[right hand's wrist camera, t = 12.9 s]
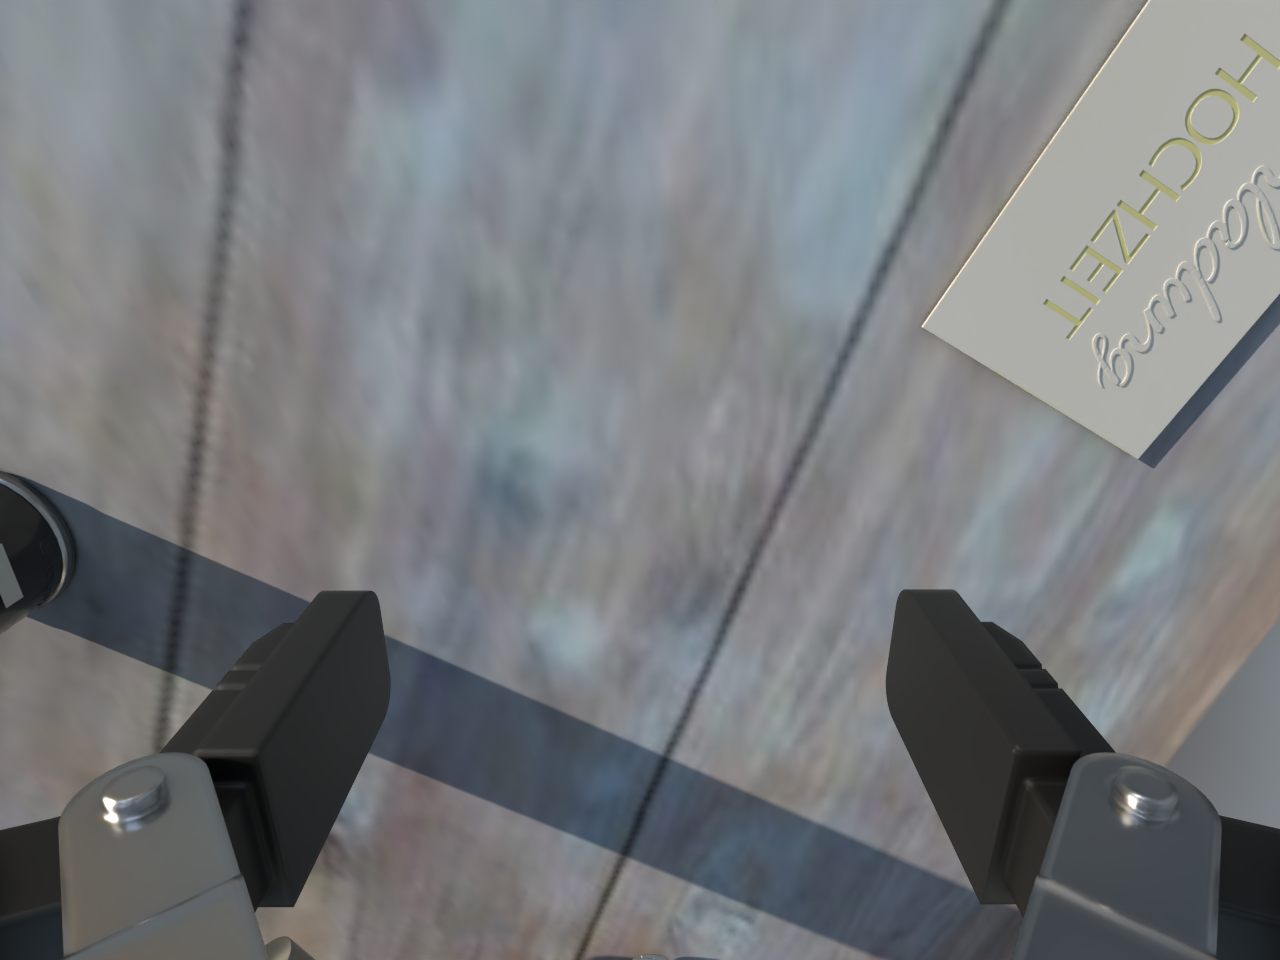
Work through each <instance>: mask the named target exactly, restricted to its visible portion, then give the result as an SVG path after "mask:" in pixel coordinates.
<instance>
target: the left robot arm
mask: <svg viewBox="0 0 1280 960" xmlns="http://www.w3.org/2000/svg"><path fill="white" fill-rule="evenodd" d="M74 568H75V548H74V544H73V540H72V537H71V534H70V532H69V530H68V527H67V526H66V524H65V522H64V520H63V519H62V517H61V516H60V514H59V513H58V512H57V510H56V509H55V508H54V507H53V505H52V504H51V503H50V502H49V501H48V500H47V499H46V498H45V497H44V496H42V495H41V494H40V493H39V492H38V491H36V490H35V489H34V488H33V487H31V486H30V485H28V484H27V483H25V482H23V481H22V480H20V479H18V478H16V477H14V476H12V475H10V474H8V473H5V472H3V471H0V634H1V633H3V632H4V631H6V630H7V629H9V628H10V627H12V626H13V625H14V624H16V623H17V622H19V621H20V620H22V619H23V618H24V617H26V616H27V615H29V614H30V613H32V612H34V611H36V610H38V609H40V608H42V607H43V606H45V605H46V604H48V603H49V602H50V601H52V600H53V599H55V598H56V597H57V596H59V595H60V594H61V593H62V592H63V591H64V590H65V588H66V587H67V586H68V584H69V582H70V580H71V578H72V576H73V572H74Z"/></svg>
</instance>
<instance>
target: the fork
mask: <svg viewBox="0 0 1280 960" xmlns="http://www.w3.org/2000/svg"><path fill="white" fill-rule="evenodd" d="M633 960H668V959H667V958H665V957H664V956H660V955H654V954H648V955H642V956H641V958H634V959H633Z"/></svg>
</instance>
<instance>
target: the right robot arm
mask: <svg viewBox="0 0 1280 960" xmlns="http://www.w3.org/2000/svg"><path fill="white" fill-rule="evenodd" d="M886 695H887V701H888V706H889V710H890V713H891V716H892V719H893V721H894V723H895V725H896V727H897V729H898V731H899V733H900V735H901V738H902V740H903V742H904V744H905V746H906V748H907V750H908V752H909V754H910V756H911V759H912V761H913V763H914V765H915V767H916V769H917V771H918V773H919V775H920V778H921V780H922V782H923V784H924V786H925V788H926V790H927V792H928V794H929V796H930V799H931V801H932V803H933V805H934V807H935V809H936V811H937V813H938V815H939V817H940V820H941V822H942V824H943V826H944V828H945V830H946V832H947V834H948V836H949V839H950V841H951V843H952V845H953V847H954V849H955V851H956V853H957V855H958V857H959V860H960V862H961V864H962V866H963V868H964V870H965V872H966V874H967V876H968V878H969V881H970V883H971V885H972V887H973V889H974V891H975V893H976V895H977V897H978V900H979V902H980V904H1016V905H1017V907H1018V909H1019V911H1020V913H1021V914H1022V916H1023V918H1024V919H1023V922H1022V925H1021V929H1020V932H1019V935H1018V938H1017V941H1016V945H1015V948H1014V951H1013V954H1012V958H1011V960H1280V829H1277V828H1273V827H1268V826H1264V825H1259V824H1255V823H1250V822H1246V821H1242V820H1237V819H1233V818H1228V817H1224V816H1220V815H1218V812H1217V811H1216V809H1215V808H1214V806H1213V804H1212V803H1211V802H1210V801H1209V800H1208V799H1207V797H1206V796H1205V795H1204V794H1203V793H1202V792H1201V791H1199V790H1198V789H1197V788H1196V787H1195V786H1194V785H1192V784H1191V783H1189V782H1188V781H1187V780H1185V779H1184V778H1182V777H1181V776H1179V775H1177V774H1176V773H1174V772H1172V771H1170V770H1168V769H1166V768H1164V767H1162V766H1160V765H1158V764H1155V763H1153V762H1150V761H1148V760H1145V759H1141V758H1138V757H1135V756H1130V755H1126V754H1119V753H1116V752H1115V751H1114V750H1113V749H1112V747H1111V746H1110V745H1109V744H1108V743H1107V742H1106V740H1105V739H1104V738H1103V737H1102V736H1101V734H1100V733H1099V732H1098V731H1097V730H1096V728H1095V727H1094V726H1093V725H1092V724H1091V723H1090V721H1089V720H1088V719H1087V718H1086V717H1085V715H1084V714H1083V713H1082V712H1081V711H1080V709H1079V708H1078V707H1077V706H1076V705H1075V704H1074V702H1073V701H1072V700H1071V699H1070V698H1069V696H1068V695H1067V694H1066V693H1065V692H1064V690H1063V689H1058V683H1057V682H1056V681H1055V680H1054V679H1053V677H1052V676H1051V675H1050V674H1049V673H1048V671H1047V670H1046V669H1042V664H1041V663H1040V662H1039V661H1038V660H1037V658H1036V657H1035V656H1034V655H1033V654H1032V652H1031V651H1030V650H1029V649H1028V648H1027V646H1026V645H1025V644H1024V643H1023V642H1022V641H1021V640H1019V639H1018V638H1016V637H1015V636H1013V635H1011V634H1010V633H1008V632H1007V631H1005V630H1004V629H1002V628H1001V627H999V626H997V625H996V624H994V623H993V622H980V620H979V619H978V618H977V617H976V615H975V614H974V613H973V612H972V610H971V609H970V608H969V606H968V605H967V604H966V603H965V601H964V600H963V599H962V597H961V596H960V595H959V594H958V593H957V592H956V591H955V590H903V591H901V593H900V594H899V597H898V600H897V604H896V610H895V617H894V624H893V631H892V638H891V645H890V652H889V659H888V666H887V673H886ZM389 698H390V672H389V665H388V659H387V652H386V645H385V638H384V631H383V624H382V618H381V611H380V605H379V601H378V598H377V595H376V594H375V593H374V592H373V591H321V592H320V593H319V594H318V595H317V596H316V597H315V598H314V600H313V601H312V602H311V603H310V605H309V606H308V607H307V608H306V610H305V611H304V612H303V613H302V615H301V616H300V617H299V618H298V620H297V621H296V622H295V623H283V624H282V625H280V626H279V627H277V628H276V629H274V630H272V631H271V632H269V633H268V634H266V635H265V636H263V637H262V638H260V639H258V640H257V641H255V642H254V643H253V644H252V645H251V646H250V647H249V648H248V649H247V651H246V652H245V653H244V654H243V655H242V656H241V658H240V659H239V660H238V661H237V662H236V664H235V665H234V666H233V671H229V672H228V673H227V674H226V675H225V676H224V678H223V679H222V680H221V681H220V682H219V684H218V685H217V690H213V691H212V692H211V693H210V694H209V695H208V697H207V698H206V699H205V700H204V701H203V702H202V704H201V705H200V706H199V707H198V708H197V709H196V711H195V712H194V713H193V714H192V715H191V717H190V718H189V719H188V720H187V721H186V722H185V724H184V725H183V726H182V727H181V728H180V729H179V731H178V732H177V733H176V734H175V735H174V737H173V738H172V739H171V740H170V741H169V742H168V744H167V745H166V746H165V747H164V748H163V749H162V751H161V752H160V753H159V754H154V755H150V756H145V757H142V758H139V759H135V760H132V761H130V762H127V763H125V764H122V765H120V766H118V767H116V768H114V769H112V770H110V771H108V772H106V773H104V774H103V775H101V776H99V777H98V778H96V779H95V780H93V781H92V782H91V783H89V784H88V785H86V786H85V787H84V788H83V789H82V790H81V791H79V792H78V793H77V794H76V795H75V796H74V797H73V799H72V800H71V801H70V802H69V803H68V804H67V806H66V808H65V809H64V811H63V812H62V815H61V816H59V817H56V818H52V819H48V820H43V821H39V822H35V823H30V824H26V825H21V826H17V827H12V828H8V829H4V830H0V960H269V958H268V954H267V951H266V948H265V945H264V941H263V938H262V935H261V932H260V929H259V925H258V922H257V919H256V916H255V912H256V910H257V908H258V907H294V905H295V903H296V901H297V899H298V897H299V895H300V893H301V891H302V889H303V887H304V885H305V883H306V880H307V878H308V876H309V874H310V872H311V870H312V868H313V866H314V864H315V862H316V860H317V858H318V856H319V853H320V851H321V849H322V847H323V845H324V843H325V841H326V839H327V837H328V835H329V833H330V831H331V829H332V826H333V824H334V822H335V820H336V818H337V816H338V814H339V812H340V810H341V808H342V806H343V804H344V802H345V799H346V797H347V795H348V793H349V791H350V789H351V787H352V785H353V783H354V781H355V779H356V777H357V774H358V772H359V770H360V768H361V766H362V764H363V762H364V760H365V758H366V756H367V754H368V752H369V750H370V747H371V745H372V743H373V741H374V739H375V737H376V735H377V733H378V731H379V729H380V727H381V725H382V723H383V720H384V718H385V716H386V712H387V709H388V704H389Z"/></svg>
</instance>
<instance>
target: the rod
mask: <svg viewBox="0 0 1280 960" xmlns="http://www.w3.org/2000/svg"><path fill="white" fill-rule="evenodd" d="M265 948H266V951H267V954H268V958H269V960H315V959H314V958H313V957H311V956H310V955H309V954H308V953H307V952H306V951H304V950H303V949H302V948H301V947H300V946H299V945H297V944H296V943H295V942H294V941H293V940H291V939H290V938H289V937H285V936H284V937H279V938H277V939H275V940H273V941H271V942H270V943H268V944H267V945H265Z"/></svg>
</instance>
